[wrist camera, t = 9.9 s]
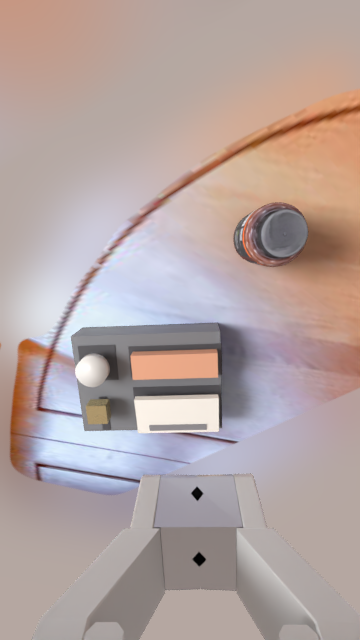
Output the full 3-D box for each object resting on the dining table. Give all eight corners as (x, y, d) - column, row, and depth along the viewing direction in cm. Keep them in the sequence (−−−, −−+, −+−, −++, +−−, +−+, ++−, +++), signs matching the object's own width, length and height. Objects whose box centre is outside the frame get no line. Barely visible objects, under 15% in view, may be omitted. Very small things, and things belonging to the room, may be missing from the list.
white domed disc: (108, 353, 35) (104, 357, 33) (111, 381, 36) (108, 386, 34) (77, 353, 35) (73, 358, 34) (81, 382, 36) (77, 387, 34)
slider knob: (111, 395, 37) (105, 405, 35) (113, 412, 38) (107, 423, 36) (92, 395, 38) (85, 406, 35) (94, 412, 38) (88, 424, 36)
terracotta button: (216, 349, 35) (217, 353, 34) (217, 372, 36) (218, 377, 35) (132, 351, 36) (130, 356, 34) (134, 374, 36) (132, 379, 35)
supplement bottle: (289, 248, 36) (331, 250, 25) (244, 271, 37) (266, 282, 26) (270, 202, 35) (305, 183, 24) (224, 226, 36) (238, 218, 25)
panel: (218, 322, 39) (221, 331, 35) (219, 411, 42) (222, 428, 38) (82, 327, 40) (70, 336, 36) (94, 414, 43) (84, 431, 39)
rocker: (217, 392, 36) (218, 398, 35) (218, 424, 38) (219, 432, 36) (135, 394, 36) (133, 400, 35) (139, 426, 38) (138, 433, 37)
